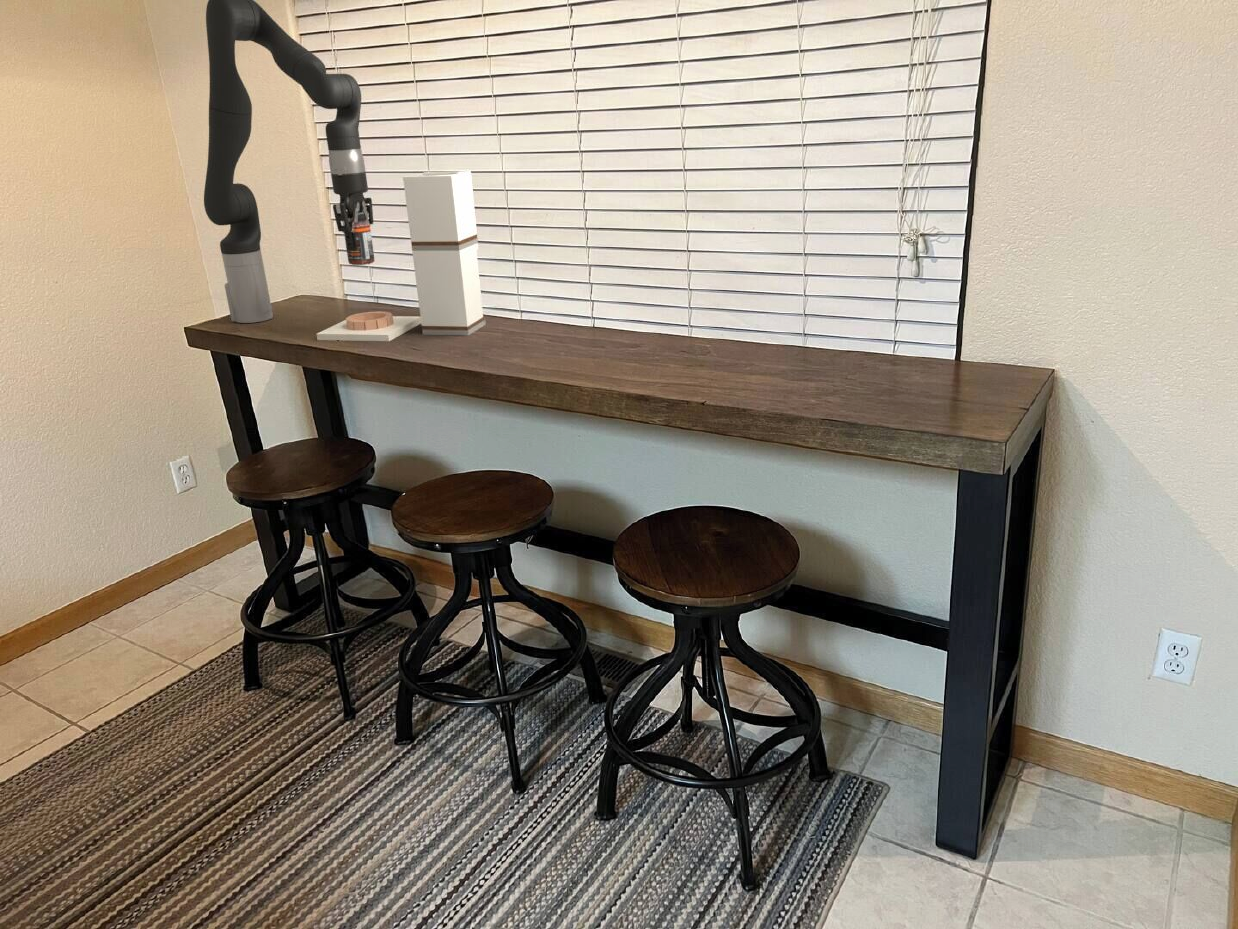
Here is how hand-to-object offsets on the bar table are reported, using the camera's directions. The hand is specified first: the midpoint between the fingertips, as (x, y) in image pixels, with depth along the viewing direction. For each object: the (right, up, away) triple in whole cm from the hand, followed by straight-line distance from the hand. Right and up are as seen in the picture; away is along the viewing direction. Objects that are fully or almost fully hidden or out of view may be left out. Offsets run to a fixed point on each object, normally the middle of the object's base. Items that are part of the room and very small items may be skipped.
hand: (359, 247), depth 210 cm
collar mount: (+1, -18, +7) cm, 20 cm away
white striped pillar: (+21, -18, +5) cm, 28 cm away
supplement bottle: (0, -4, +1) cm, 4 cm away
